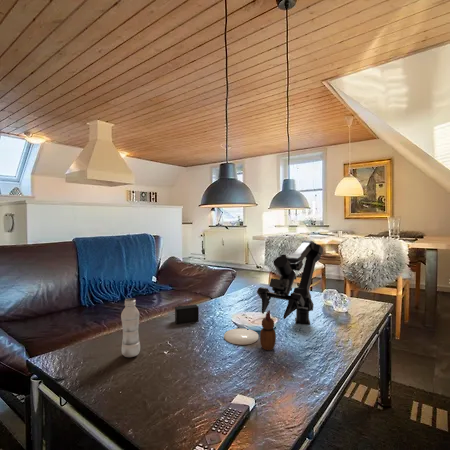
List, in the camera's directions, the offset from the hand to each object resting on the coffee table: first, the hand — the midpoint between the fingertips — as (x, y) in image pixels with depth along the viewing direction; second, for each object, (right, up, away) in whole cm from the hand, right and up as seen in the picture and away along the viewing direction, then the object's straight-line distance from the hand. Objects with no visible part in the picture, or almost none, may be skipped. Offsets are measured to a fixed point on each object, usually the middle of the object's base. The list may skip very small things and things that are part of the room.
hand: (272, 315), depth 114 cm
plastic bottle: (-52, -12, -8) cm, 54 cm away
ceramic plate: (-12, -11, +7) cm, 18 cm away
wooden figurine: (-2, -12, -3) cm, 12 cm away
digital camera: (-37, -11, +26) cm, 46 cm away
